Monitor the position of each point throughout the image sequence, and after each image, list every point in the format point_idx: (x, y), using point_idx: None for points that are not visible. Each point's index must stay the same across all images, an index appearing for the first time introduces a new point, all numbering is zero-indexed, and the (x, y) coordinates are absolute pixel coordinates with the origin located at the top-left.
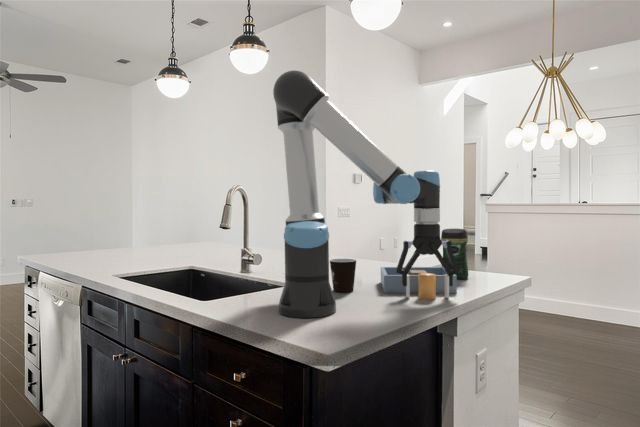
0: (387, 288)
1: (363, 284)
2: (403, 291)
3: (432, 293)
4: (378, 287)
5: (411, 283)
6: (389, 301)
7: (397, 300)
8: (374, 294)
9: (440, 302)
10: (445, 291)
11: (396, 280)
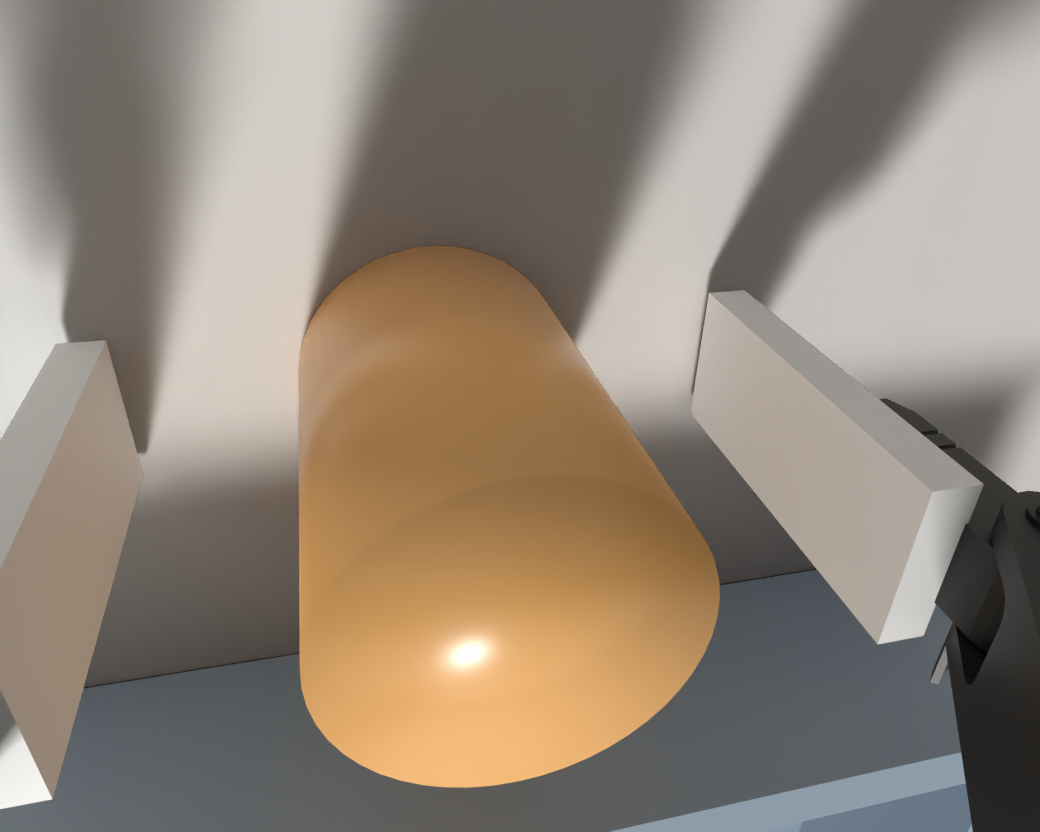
0: None
1: None
2: None
3: (369, 306)
4: None
5: None
6: (1033, 84)
7: (902, 162)
8: (1027, 472)
9: (230, 39)
10: (109, 474)
11: (859, 701)
